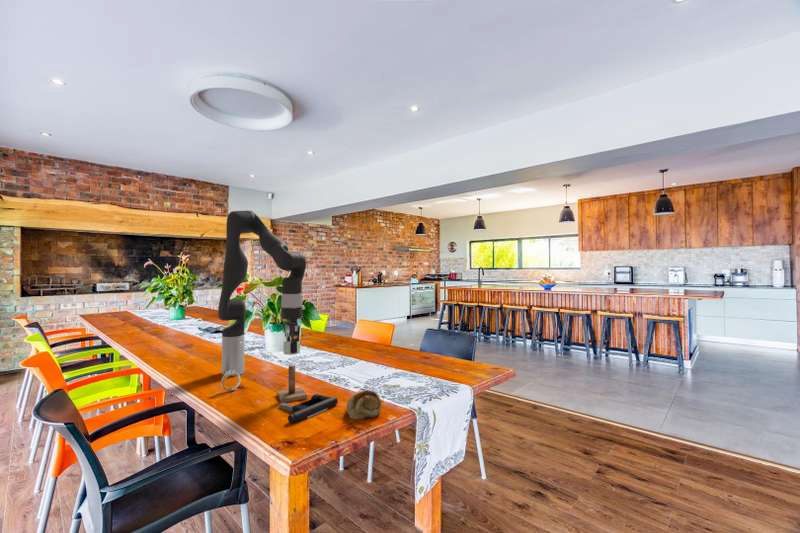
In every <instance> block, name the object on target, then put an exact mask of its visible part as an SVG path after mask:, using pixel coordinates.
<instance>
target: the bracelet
mask: <svg viewBox="0 0 800 533" xmlns="http://www.w3.org/2000/svg"><path fill="white" fill-rule="evenodd" d="M232 374H234V375H235V376H236V377H237V383H236V385H235V386H233V387H230V388H227V387H226V386H225V382H226V380H227V379H228V377H231V376H230V375H232ZM226 375H227V376H226ZM240 375H241V374H240ZM240 375H239V374H238V373H237V372H235V370H234V371H231V370H229V371H228V372H226V374H224V375H222V377H221V387H222V388H223V389H224V390H225V391H227V392H232V391H234V390H236V389H237V388H238V387H239V386H240V385H241V384H240V383H241V380H242V379H241V376H240Z"/></svg>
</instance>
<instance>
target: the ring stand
mask: <svg viewBox="0 0 800 533" xmlns="http://www.w3.org/2000/svg"><path fill="white" fill-rule="evenodd" d="M287 388H288V389H283V390H277V391H276V396H277V397H278V400H279V401H280V402H281V403H286V404H287V403H291V402H297V401H301V400H308V394H307V392H305V390H304V389H303V388H302V386H300V387H296V365H294V364H292V365H288V387H287Z"/></svg>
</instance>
